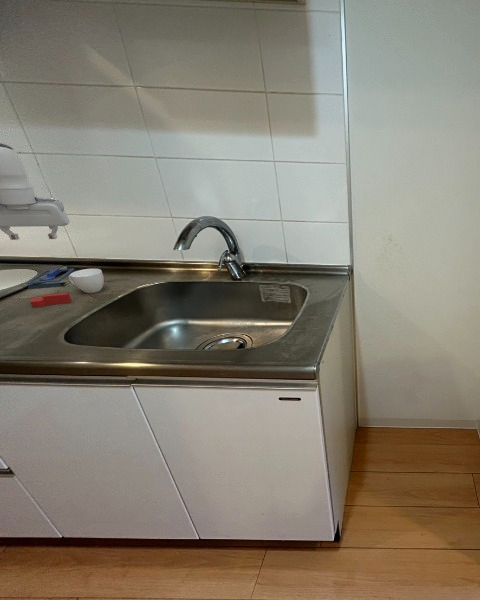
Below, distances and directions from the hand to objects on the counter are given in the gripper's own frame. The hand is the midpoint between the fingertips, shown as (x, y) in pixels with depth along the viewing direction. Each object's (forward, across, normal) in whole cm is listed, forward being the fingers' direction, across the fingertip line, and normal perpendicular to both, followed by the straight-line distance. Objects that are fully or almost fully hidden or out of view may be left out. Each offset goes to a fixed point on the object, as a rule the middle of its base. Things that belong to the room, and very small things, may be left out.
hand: (34, 239), depth 105 cm
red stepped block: (+15, -8, +23) cm, 29 cm away
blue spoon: (+15, -1, +2) cm, 15 cm away
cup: (+15, -15, +14) cm, 25 cm away
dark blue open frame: (+15, -1, +2) cm, 15 cm away
